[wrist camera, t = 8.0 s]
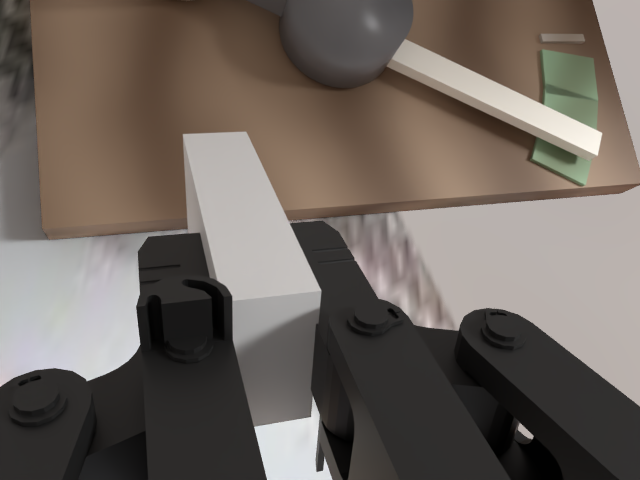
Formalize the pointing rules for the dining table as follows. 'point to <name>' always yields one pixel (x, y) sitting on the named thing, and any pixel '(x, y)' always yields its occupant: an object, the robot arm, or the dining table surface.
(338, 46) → the knobbed stick and post
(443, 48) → the brown wooden board
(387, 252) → the dining table surface
